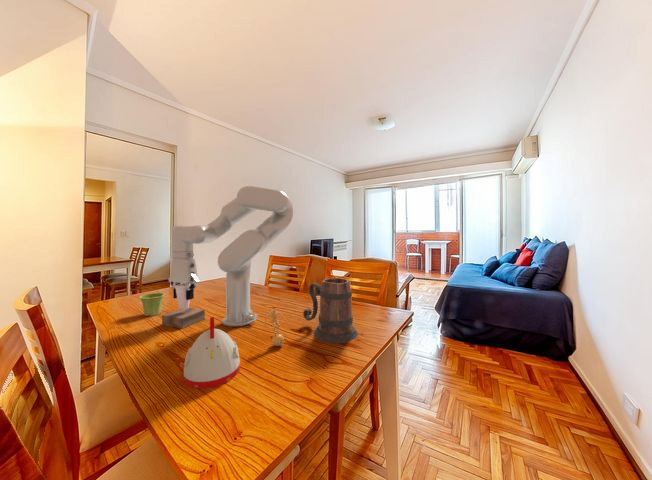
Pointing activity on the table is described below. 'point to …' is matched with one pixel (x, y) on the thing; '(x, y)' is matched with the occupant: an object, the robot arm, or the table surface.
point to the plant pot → (152, 303)
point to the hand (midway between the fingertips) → (183, 298)
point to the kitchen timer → (211, 359)
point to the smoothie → (182, 296)
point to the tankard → (332, 311)
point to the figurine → (277, 338)
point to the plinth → (183, 317)
